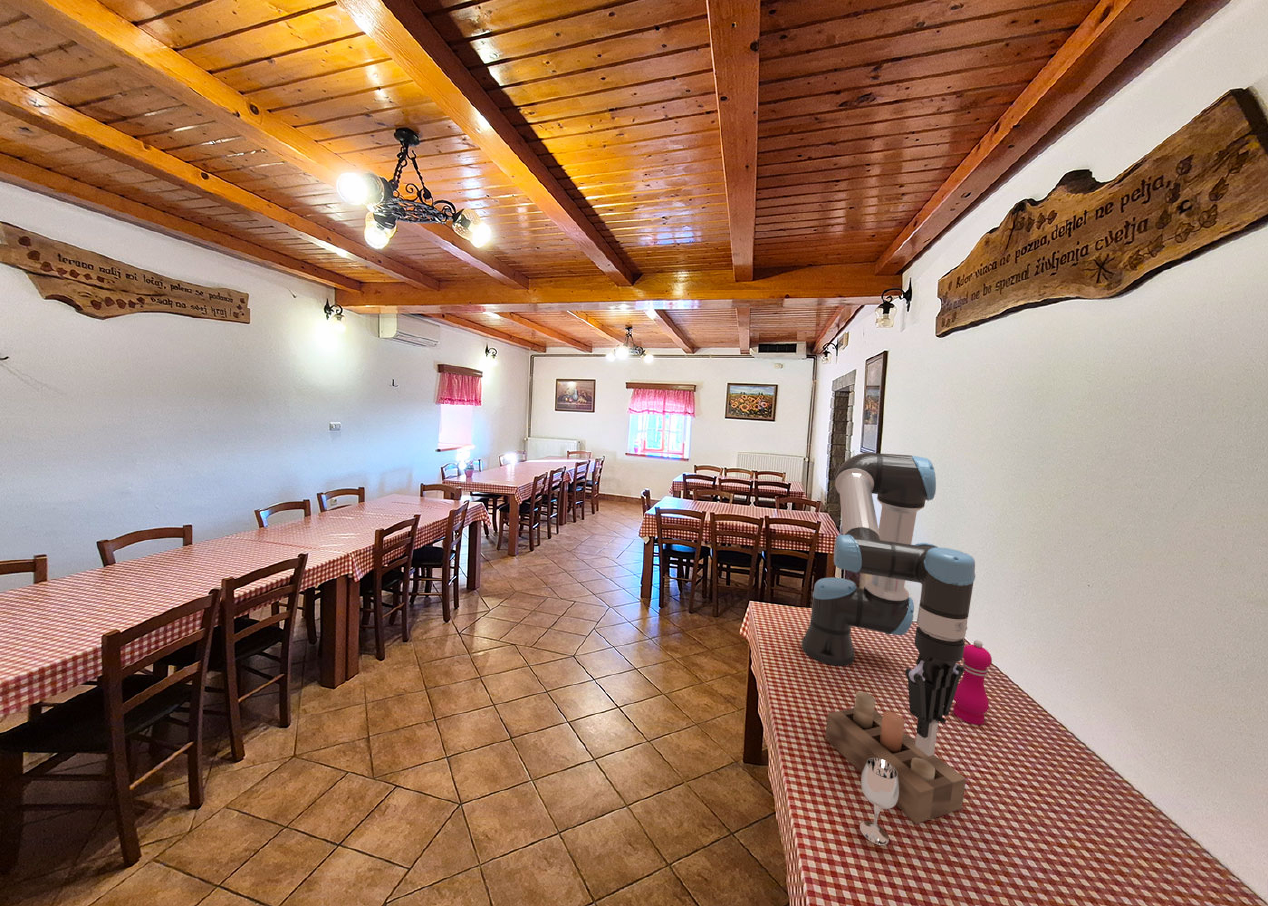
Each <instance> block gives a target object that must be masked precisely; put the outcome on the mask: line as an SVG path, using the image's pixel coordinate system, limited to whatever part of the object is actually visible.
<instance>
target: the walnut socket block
mask: <svg viewBox="0 0 1268 906" xmlns="http://www.w3.org/2000/svg"><path fill="white" fill-rule="evenodd" d="M853 715H854V707H853V708H848V709H841V710H838V711H833V712H828V713H827V716H826V728H825V737H824V739H825V740H826V741H827V742H828V743H829V744H830V745H831V746H832V747H833V748H834V749H835V750H837V751H838V752H839V753H840V754H841V755H842V756H843V757H844V758H845V759H846V760H847V761H848V762H849V763H850V764H852V765H853V766H854V767H855V769H857V770H858V771H859V772H860V773H861V774H862V772H863V769H864V766H865V764H866V762H867V760H868V759H869V758H879V759H882V760H884V761H886V762H888V763H890V764H891V765H892V766H893V767H894V768H895V769H896V771H897V773H898V779H899V799H898V801H897V804H896V805H895V806H896V807H897V808H898V809H899V810H900V811H901V812H902V813H904V815H906V816H907V817H908V818H909V819H910V820H911V821H912V822H913V823H915V825H917V824H920V823H923V822H926V821H930V820H933V819H935V818H937V817H938V818H939V817H941V816H944V815H947V814H950V813H953V812H957V811H959V810H962V809H963V805H964V804H963V802H964V797H965V796H964V795H965V789H966V781H967V778H966V777H965V776H963V775H961V773H959V772H958V771H956V769H954V768H952V767H951V766H950V765H948V764H947V763H945V762H944V761H943V760H942V759H941V758H939V757H938V756H937V755H936V754H934V755H931V756H927V755H926V754H925V753H924V752H922V751H921V750H920V749H918V748H917V747H916V746H915V742H916V739H914V738H913V737H911V736H910V735H908V734H907V733H906V732H905V731H903V738H902V746H901V751H900V752H892V751H889V750H887V749H886V748H884V747H883V746H882V745H881V744H880V736H881V728H882V720H883V714H881V713H879V712H878V711H876V710H875V709H874V715H873V724H872V728H870V729H865V728H862V727H859V726H858V725H856V724H855V723H854V721H853ZM913 758H921V759H924V760H926V761H928V762H929V763H931V764H932V765H933V766H934V768H935V776H934V780H931V781H927V782H926V781H924V780H923V779H922V778H921V777H920V776H918V775H917V774H916V773H915V772H913V771H912V770H911V762H912V759H913Z"/></svg>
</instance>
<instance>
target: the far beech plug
mask: <svg viewBox="0 0 1268 906" xmlns="http://www.w3.org/2000/svg"><path fill="white" fill-rule="evenodd" d="M875 706H876V698H875V697H874V696H873V695H872V694H870V693H868V692H865V691H857V692H855V699H854V707H853V708H854V715H853V721H854V723H855V724H856V725H858V726H859V727H862V728H865V729H870V728H872V724H873V715H874V710H875Z"/></svg>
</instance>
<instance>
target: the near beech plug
mask: <svg viewBox="0 0 1268 906" xmlns="http://www.w3.org/2000/svg"><path fill="white" fill-rule="evenodd" d="M911 770H912V771H913V772H915V773H916V774H917V775H918V776H920V777H921V778H922V779H923V780H924V781H926V782H927V781H931V780H934V776H935V768H934V766H933V765H932V764H931V763H929V762H928V761H926V760H924V759H921V758H913V759H912V762H911Z"/></svg>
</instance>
